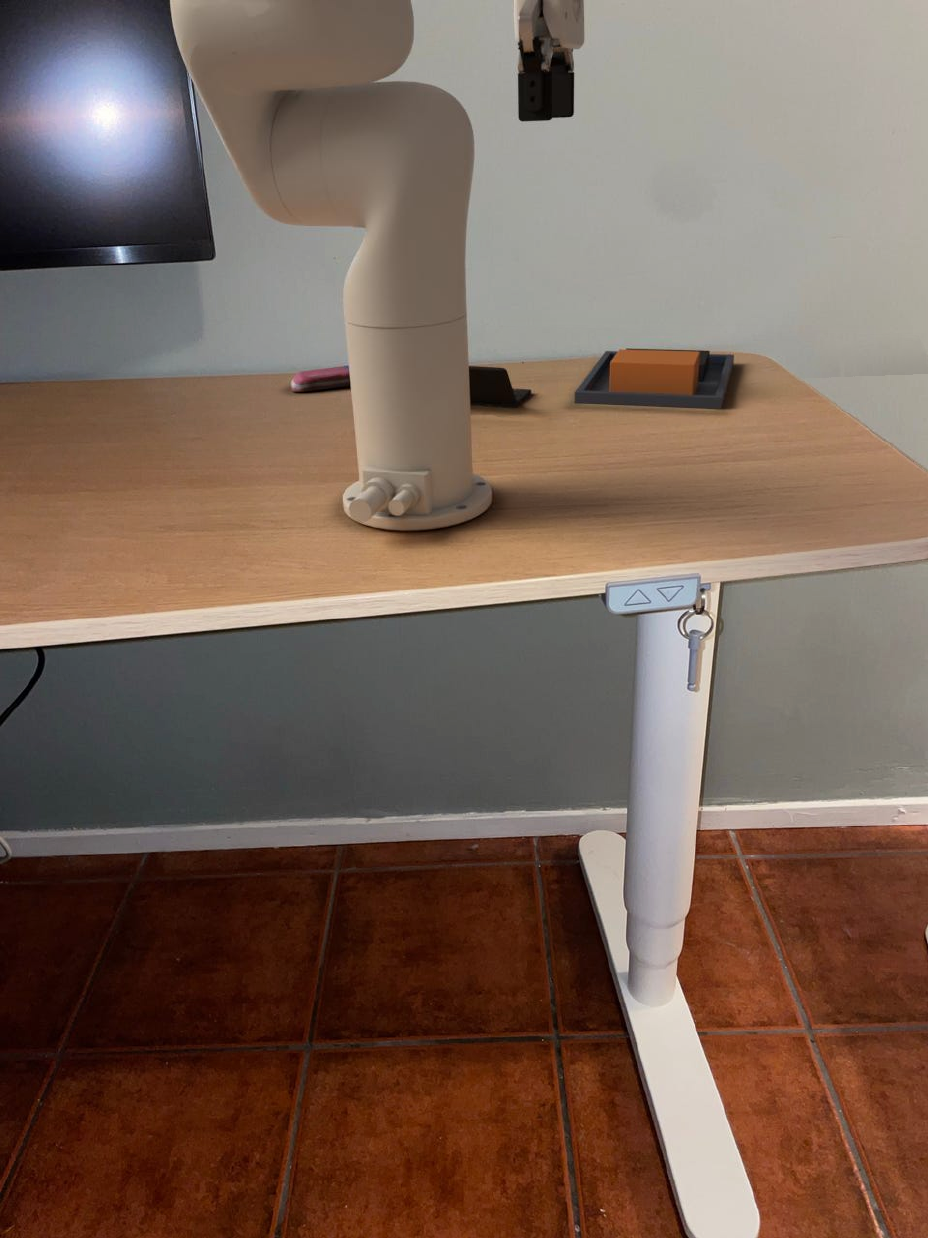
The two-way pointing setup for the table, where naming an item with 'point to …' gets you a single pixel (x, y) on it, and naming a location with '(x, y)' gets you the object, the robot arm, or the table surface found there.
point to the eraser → (321, 379)
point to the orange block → (654, 372)
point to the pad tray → (705, 396)
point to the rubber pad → (702, 361)
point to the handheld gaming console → (494, 388)
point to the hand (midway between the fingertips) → (547, 118)
